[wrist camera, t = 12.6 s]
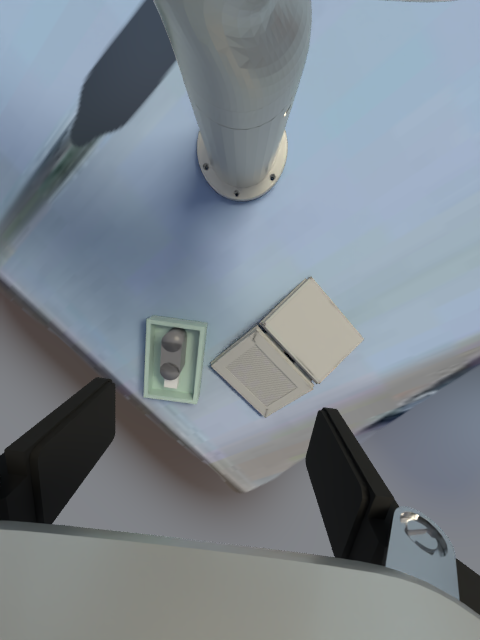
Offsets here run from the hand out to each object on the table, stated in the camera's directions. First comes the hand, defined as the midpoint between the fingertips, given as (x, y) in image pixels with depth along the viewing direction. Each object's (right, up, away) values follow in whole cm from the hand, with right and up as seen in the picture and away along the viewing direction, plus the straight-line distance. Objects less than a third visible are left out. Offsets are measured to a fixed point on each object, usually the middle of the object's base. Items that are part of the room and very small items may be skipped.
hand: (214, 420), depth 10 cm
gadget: (+9, -1, +30) cm, 32 cm away
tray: (-10, -2, +30) cm, 32 cm away
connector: (-10, -2, +29) cm, 31 cm away
